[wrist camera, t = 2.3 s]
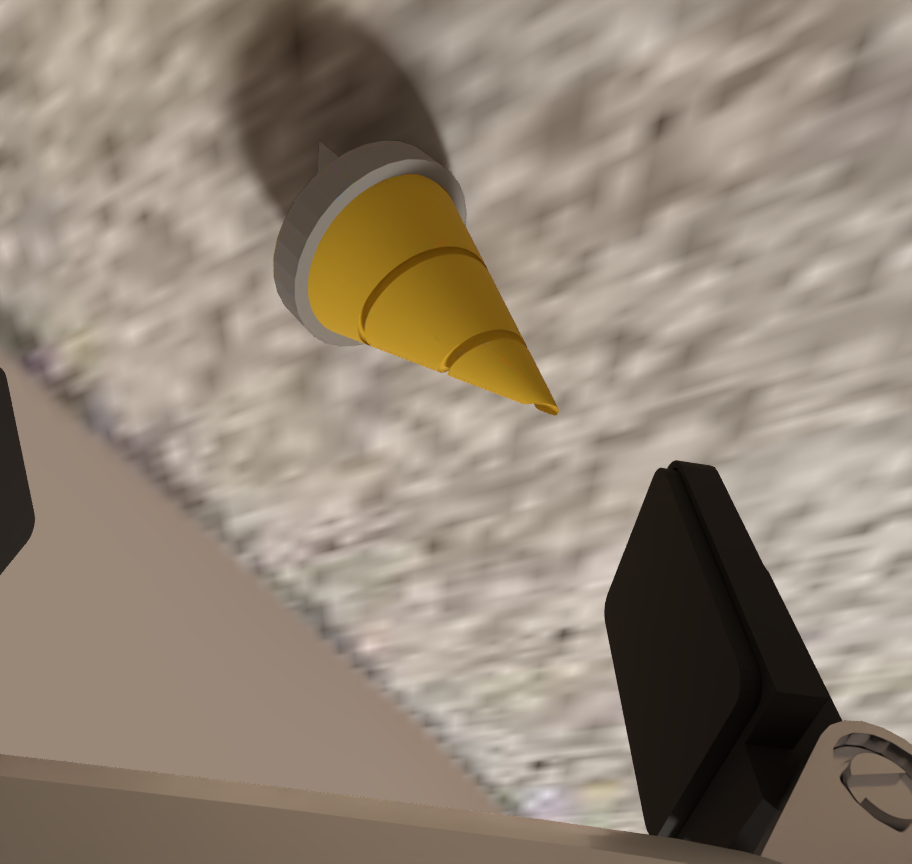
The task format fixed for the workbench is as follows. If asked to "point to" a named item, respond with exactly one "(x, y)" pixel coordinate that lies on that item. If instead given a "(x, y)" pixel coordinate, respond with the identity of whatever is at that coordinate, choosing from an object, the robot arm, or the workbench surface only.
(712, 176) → the workbench surface
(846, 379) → the workbench surface
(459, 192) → the drill bit
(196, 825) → the robot arm
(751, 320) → the workbench surface
